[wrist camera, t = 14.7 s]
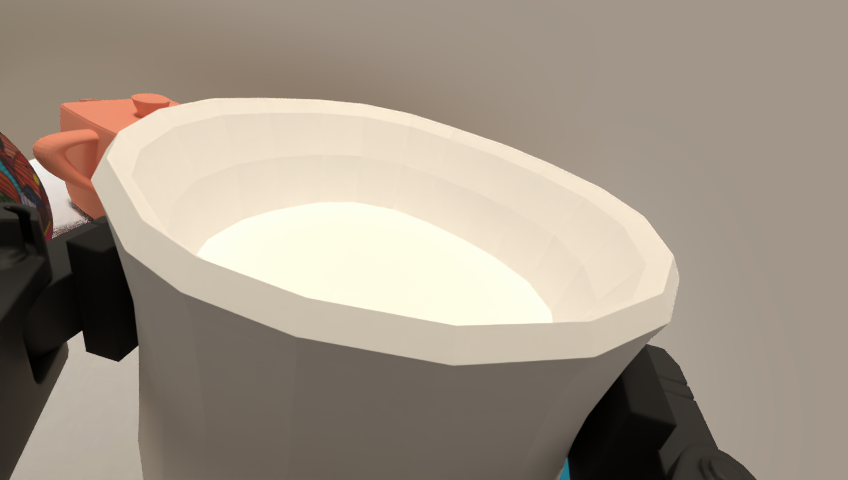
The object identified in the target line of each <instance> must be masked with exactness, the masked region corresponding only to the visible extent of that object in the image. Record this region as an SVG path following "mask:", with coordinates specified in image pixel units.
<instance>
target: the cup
mask: <svg viewBox="0 0 848 480" xmlns="http://www.w3.org/2000/svg"><path fill="white" fill-rule="evenodd" d="M91 182H92V184H93V186H94V188H95V190H96V192H97V194H98V196H99V199H100V201H101V203H102V206H103V209H104V211H105V214H106V217H107V220H108V223H109V226H110V229H111V232H112V235H113V238H114V241H115V244H116V247H117V251H118V254H119V257H120V260H121V263H122V266H123V270H124V273H125V276H126V279H127V282H128V286H129V289H130V292H131V295H132V298H133V302H134V310H135V319H136V327H137V336H138V344H139V432H138V442H139V449H140V457H141V464H142V472H143V479H144V480H559V479H560V476H561V473H562V470H563V468H564V465H565V462H566V459H567V456H568V454H569V451H570V449H571V446H572V444H573V441H574V439H575V438H576V436H577V434H578V432H579V430H580V429H581V427H582V425H583V423H584V421H585V419H586V418H587V416H588V415H589V413H590V412H591V411H592V409H593V408H594V407H595V406H596V404H597V403H598V402H599V401H600V399H601V398H602V397H603V396H604V394H605V393H606V392H607V390H608V389H609V388H610V387H611V385H612V384H613V383H614V382H615V380H616V379H617V378H618V376H619V375H620V374H621V373H622V371H623V370H624V369H625V368H626V366H627V365H628V364H629V363H630V362H631V361H632V360H633V358H634V357H635V356H636V355H637V354H638V353H639V352H640V350H641V349H642V348H643V347H644V346H645V345H646V344H647V342H648V341H649V340H650V339H651V338H652V337H653V336H655V335H656V334H657V333H658V332H659V331H660V330H662V329H663V328H664V327H665V326H666V325H667V324H669V323H670V320H671V315H672V310H673V306H674V302H675V297H676V293H677V288H678V283H679V279H680V278H679V274H678V270H677V266H676V263H675V259H674V255H673V254H672V253H671V252H670V250H669V249H668V248H667V246H666V245H665V244H664V242H663V241H662V240H661V238H660V237H659V236H658V234H657V233H656V232H655V230H654V229H653V228H652V226H651V225H650V224H649V222H648V221H647V220H646V219H645V217H644V216H642V215H641V214H639V213H638V212H637V211H635V210H634V209H632V208H631V207H629V206H628V205H626V204H625V203H623V202H621V201H620V200H619V199H617V198H616V197H614V196H613V195H611V194H610V193H608V192H607V191H605V190H604V189H602V188H601V187H598V186H596V185H594V184H592V183H590V182H588V181H586V180H584V179H581V178H580V177H577V176H575V175H573V174H571V173H569V172H567V171H565V170H563V169H561V168H558V167H556V166H554V165H552V164H550V163H548V162H545V161H543V160H540V159H538V158H536V157H533V156H531V155H528V154H526V153H524V152H521V151H519V150H516V149H514V148H512V147H509V146H507V145H504V144H501V143H498V142H495V141H492V140H489V139H486V138H483V137H480V136H478V135H475V134H472V133H469V132H465V131H463V130H460V129H456V128H454V127H451V126H447V125H444V124H441V123H438V122H435V121H432V120H429V119H426V118H423V117H419V116H416V115H413V114H409V113H404V112H400V111H395V110H389V109H385V108H380V107H376V106H371V105H367V104H359V103H348V102H338V101H328V100H316V99H315V100H314V99H278V98H212V99H207V100H202V101H197V102H192V103H187V104H182V105H177V106H172V107H167V108H162V109H158V110H156V111H154V112H153V113H151V114H149V115H147V116H146V117H144V118H142V119H140V120H138V121H137V122H135V123H133V124H131V125H130V126H128V127H126V128H124V129H123V130H121V131H119V133H118V134H117V135H116V137H115V138H114V140H113V141H112V142H111V144H110V145H109V146H108V148H107V149H106V151H105V153H104V155H103V157H102V159H101V161H100V163H99V165H98V167H97V169H96V170H95V172H94V174H93V176H92V178H91Z"/></svg>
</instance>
